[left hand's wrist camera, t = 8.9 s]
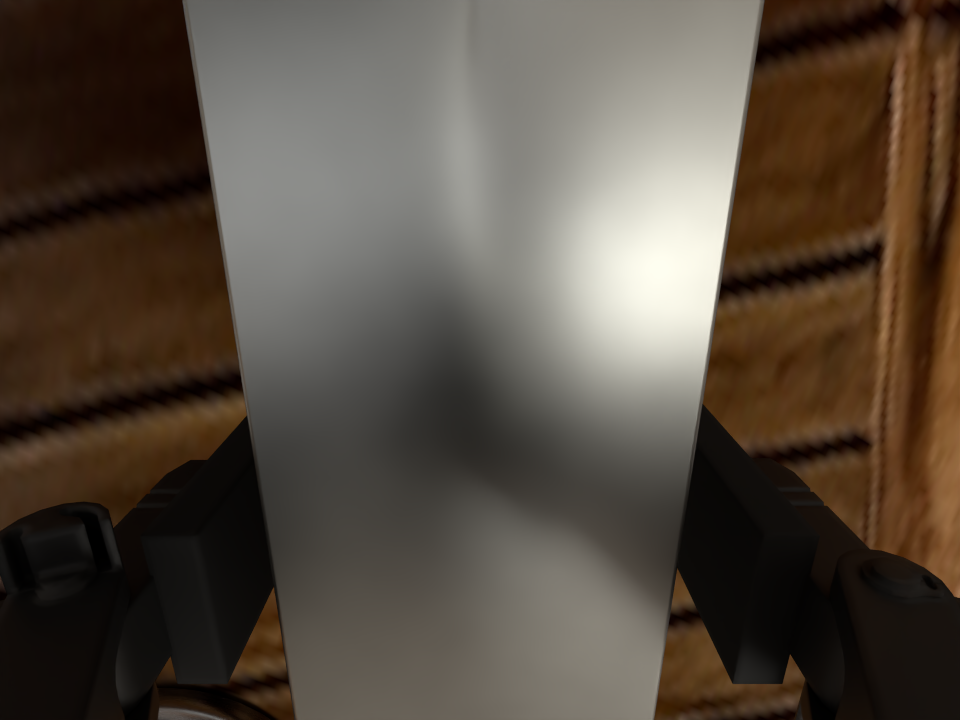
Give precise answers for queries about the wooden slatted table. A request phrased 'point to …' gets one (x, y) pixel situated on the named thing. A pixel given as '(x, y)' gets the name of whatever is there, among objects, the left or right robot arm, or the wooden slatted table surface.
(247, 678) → the wooden slatted table surface
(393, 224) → the bar
